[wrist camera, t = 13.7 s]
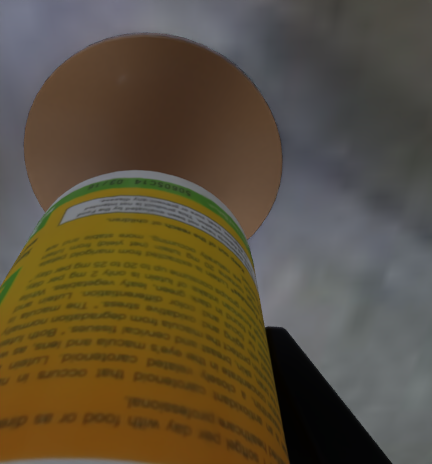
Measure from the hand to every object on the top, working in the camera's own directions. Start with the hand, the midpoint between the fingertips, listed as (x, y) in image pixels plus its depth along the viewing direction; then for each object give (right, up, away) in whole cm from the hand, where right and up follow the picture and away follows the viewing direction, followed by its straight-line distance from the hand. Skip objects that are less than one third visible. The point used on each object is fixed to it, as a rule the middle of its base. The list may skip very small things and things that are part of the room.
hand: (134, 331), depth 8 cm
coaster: (0, +4, +6) cm, 8 cm away
